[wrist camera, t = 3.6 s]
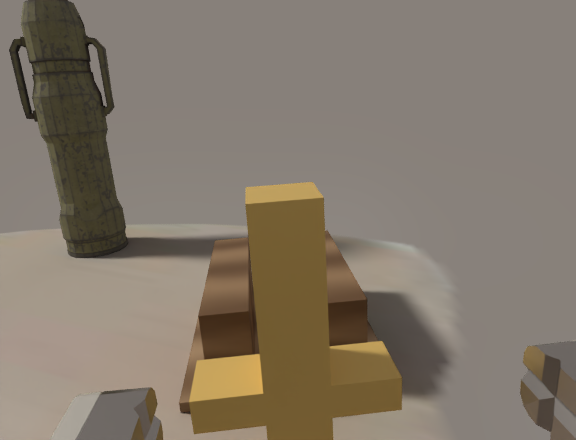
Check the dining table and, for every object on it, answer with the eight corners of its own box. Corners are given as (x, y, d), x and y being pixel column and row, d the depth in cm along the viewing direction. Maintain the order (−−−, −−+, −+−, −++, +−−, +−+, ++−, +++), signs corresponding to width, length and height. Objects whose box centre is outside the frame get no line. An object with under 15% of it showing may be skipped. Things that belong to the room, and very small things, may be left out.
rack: (397, 387, 32) (399, 303, 30) (180, 412, 31) (166, 326, 29) (345, 284, 49) (344, 226, 47) (204, 297, 48) (197, 239, 46)
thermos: (140, 248, 65) (96, -7, 55) (54, 264, 61) (-11, -9, 51) (136, 232, 73) (97, 7, 63) (60, 245, 69) (4, 6, 59)
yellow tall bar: (400, 482, 24) (405, 190, 19) (205, 507, 24) (159, 211, 19) (381, 435, 28) (382, 176, 23) (210, 456, 27) (172, 193, 22)
